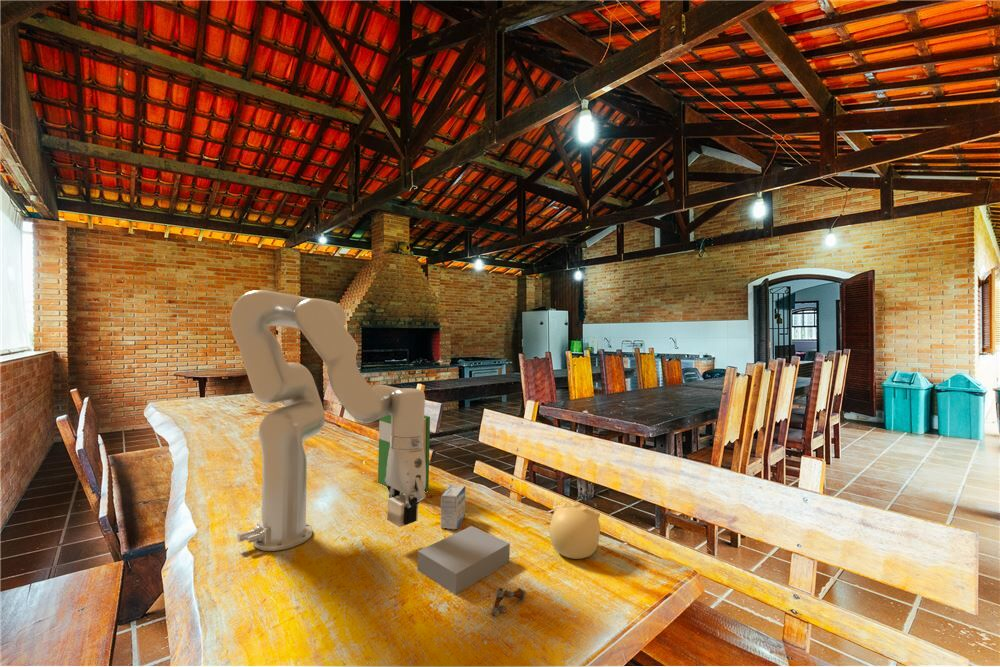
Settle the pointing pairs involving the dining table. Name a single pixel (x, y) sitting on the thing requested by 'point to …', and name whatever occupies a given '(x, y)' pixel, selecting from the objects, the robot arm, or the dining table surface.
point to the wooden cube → (397, 510)
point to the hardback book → (385, 446)
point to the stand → (463, 558)
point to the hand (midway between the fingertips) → (402, 517)
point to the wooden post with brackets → (508, 594)
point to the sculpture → (574, 530)
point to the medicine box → (453, 507)
